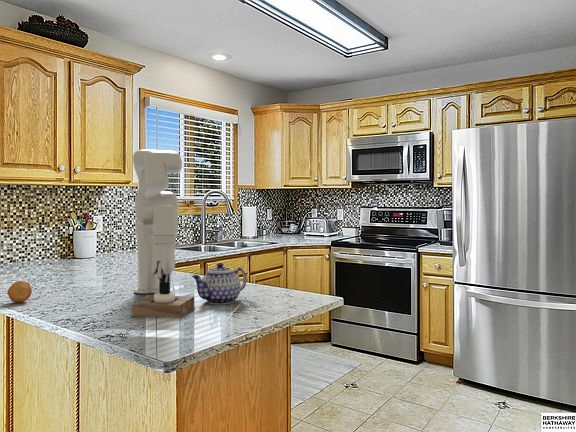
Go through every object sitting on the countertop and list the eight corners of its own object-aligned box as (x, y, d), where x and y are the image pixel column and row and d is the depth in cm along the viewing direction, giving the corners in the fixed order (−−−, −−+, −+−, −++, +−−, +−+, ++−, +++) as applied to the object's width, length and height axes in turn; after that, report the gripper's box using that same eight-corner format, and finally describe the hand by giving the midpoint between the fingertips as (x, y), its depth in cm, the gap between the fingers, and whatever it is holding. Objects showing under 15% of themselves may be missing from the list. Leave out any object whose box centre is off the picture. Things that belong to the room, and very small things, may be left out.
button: (158, 301, 162) (158, 291, 162) (177, 302, 161) (177, 292, 161) (150, 305, 155) (150, 295, 155) (171, 306, 154) (171, 295, 154)
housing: (151, 306, 167) (151, 295, 167) (194, 307, 165) (194, 296, 165) (132, 316, 151) (132, 304, 151) (179, 317, 149) (179, 305, 149)
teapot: (235, 295, 190) (235, 258, 190) (258, 300, 178) (258, 261, 178) (181, 303, 173) (181, 263, 173) (203, 309, 161) (202, 267, 161)
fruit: (5, 286, 178) (5, 283, 171) (28, 280, 182) (28, 277, 176) (10, 306, 177) (10, 304, 170) (33, 300, 181) (34, 297, 175)
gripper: (161, 239, 165) (162, 290, 165) (145, 241, 151) (145, 297, 151) (182, 239, 165) (182, 290, 165) (167, 241, 150) (167, 297, 150)
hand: (164, 293), depth 158 cm, fingers closed
